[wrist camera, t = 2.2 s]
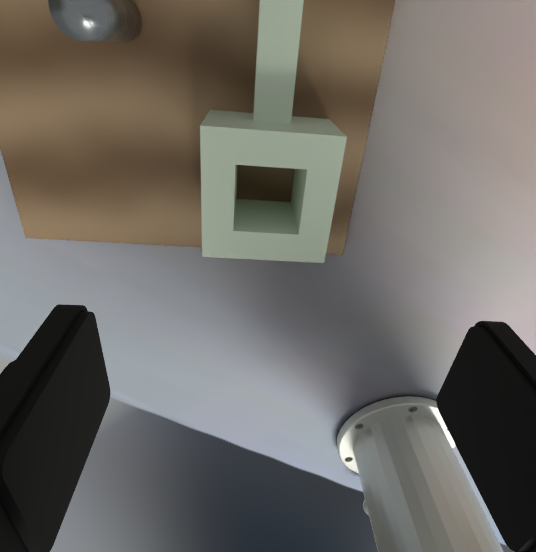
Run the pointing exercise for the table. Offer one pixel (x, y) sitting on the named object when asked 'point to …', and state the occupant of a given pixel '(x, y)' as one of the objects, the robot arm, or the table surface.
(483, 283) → the table surface
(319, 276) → the table surface
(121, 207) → the board
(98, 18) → the post
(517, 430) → the robot arm
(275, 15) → the hollow frame with stem
